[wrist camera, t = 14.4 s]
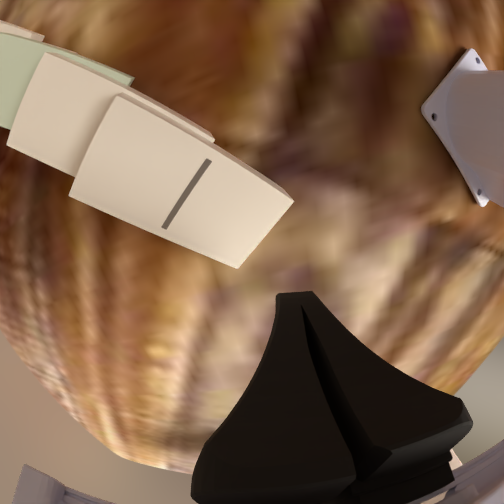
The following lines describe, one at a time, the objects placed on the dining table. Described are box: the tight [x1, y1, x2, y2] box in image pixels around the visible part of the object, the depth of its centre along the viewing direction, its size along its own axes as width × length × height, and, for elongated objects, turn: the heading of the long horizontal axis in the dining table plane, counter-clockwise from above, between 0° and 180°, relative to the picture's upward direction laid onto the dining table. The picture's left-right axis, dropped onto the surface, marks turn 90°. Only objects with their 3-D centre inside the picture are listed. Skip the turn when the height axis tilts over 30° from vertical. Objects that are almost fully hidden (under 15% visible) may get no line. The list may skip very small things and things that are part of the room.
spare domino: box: [0, 32, 135, 130], centre depth 10 cm, size 2×5×10 cm
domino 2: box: [6, 52, 215, 177], centre depth 11 cm, size 2×5×10 cm
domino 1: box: [68, 92, 294, 269], centre depth 13 cm, size 2×5×10 cm
